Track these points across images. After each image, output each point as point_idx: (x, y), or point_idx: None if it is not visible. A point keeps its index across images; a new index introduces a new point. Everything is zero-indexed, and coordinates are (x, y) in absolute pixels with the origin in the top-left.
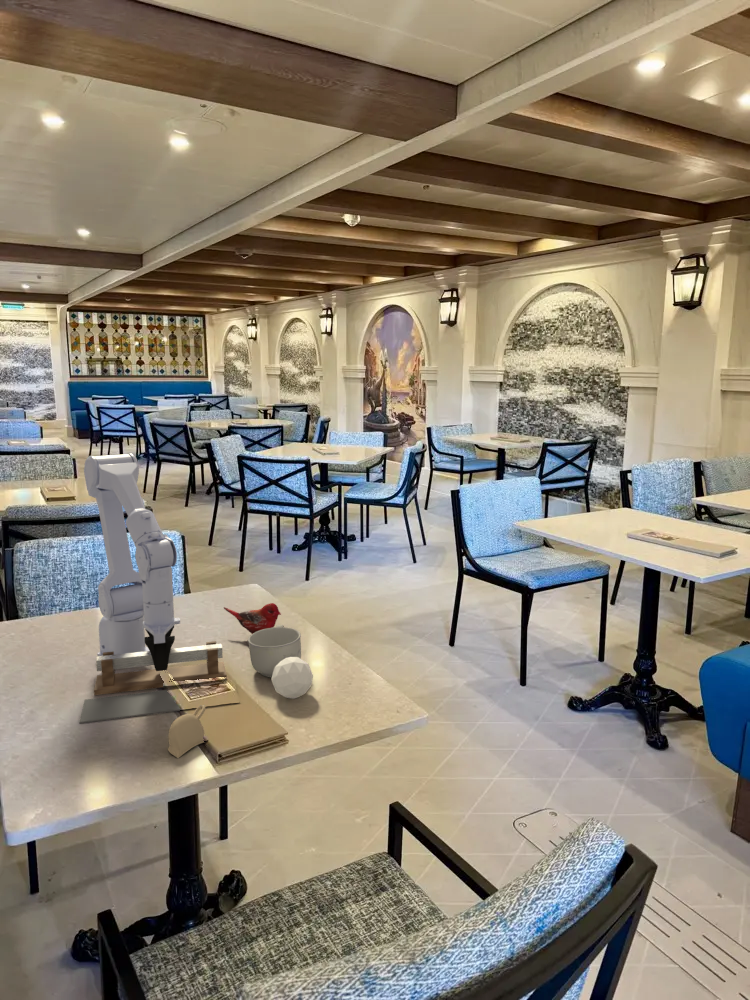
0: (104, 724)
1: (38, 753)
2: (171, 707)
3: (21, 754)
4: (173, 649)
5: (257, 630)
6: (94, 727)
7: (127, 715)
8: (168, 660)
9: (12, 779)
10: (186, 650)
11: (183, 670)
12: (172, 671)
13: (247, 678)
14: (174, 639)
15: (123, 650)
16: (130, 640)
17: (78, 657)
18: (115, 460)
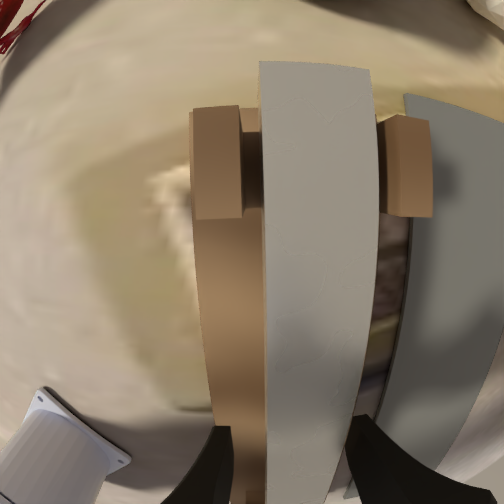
0: (461, 438)
1: (471, 468)
2: (493, 331)
3: (459, 481)
4: (283, 455)
5: (4, 12)
6: (459, 446)
7: (466, 416)
8: (392, 440)
9: (497, 459)
10: (341, 390)
11: (260, 327)
12: (257, 371)
13: (364, 41)
14: (492, 501)
15: (101, 478)
16: (82, 488)
17: (104, 496)
18: None
